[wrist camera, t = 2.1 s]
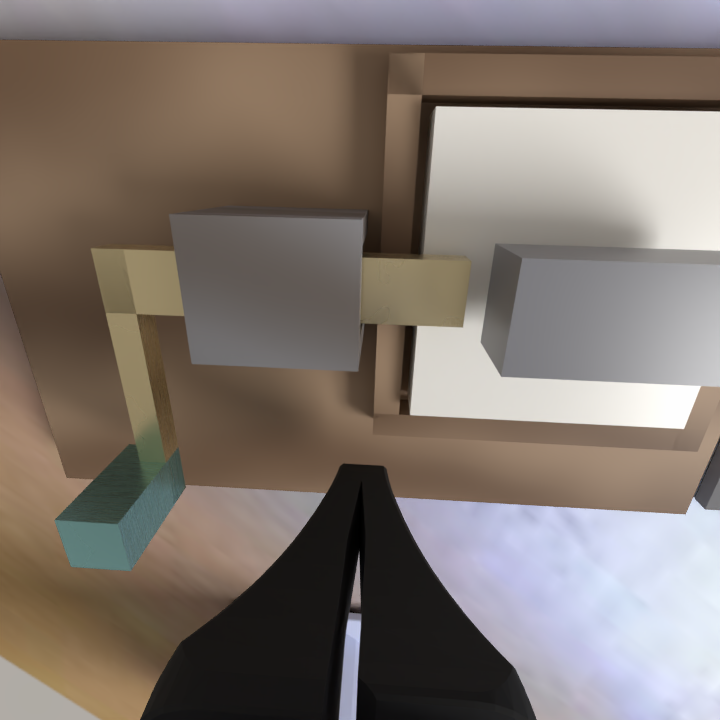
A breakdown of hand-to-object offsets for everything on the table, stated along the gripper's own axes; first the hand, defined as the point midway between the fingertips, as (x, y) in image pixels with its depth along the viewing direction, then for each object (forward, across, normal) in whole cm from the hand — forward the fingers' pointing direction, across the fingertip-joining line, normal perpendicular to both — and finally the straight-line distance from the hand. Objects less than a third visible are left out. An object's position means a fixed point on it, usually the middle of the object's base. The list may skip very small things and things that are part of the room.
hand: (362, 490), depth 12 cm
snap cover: (+2, -5, -6) cm, 9 cm away
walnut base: (+4, 0, -5) cm, 6 cm away
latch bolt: (+1, +3, -3) cm, 4 cm away
